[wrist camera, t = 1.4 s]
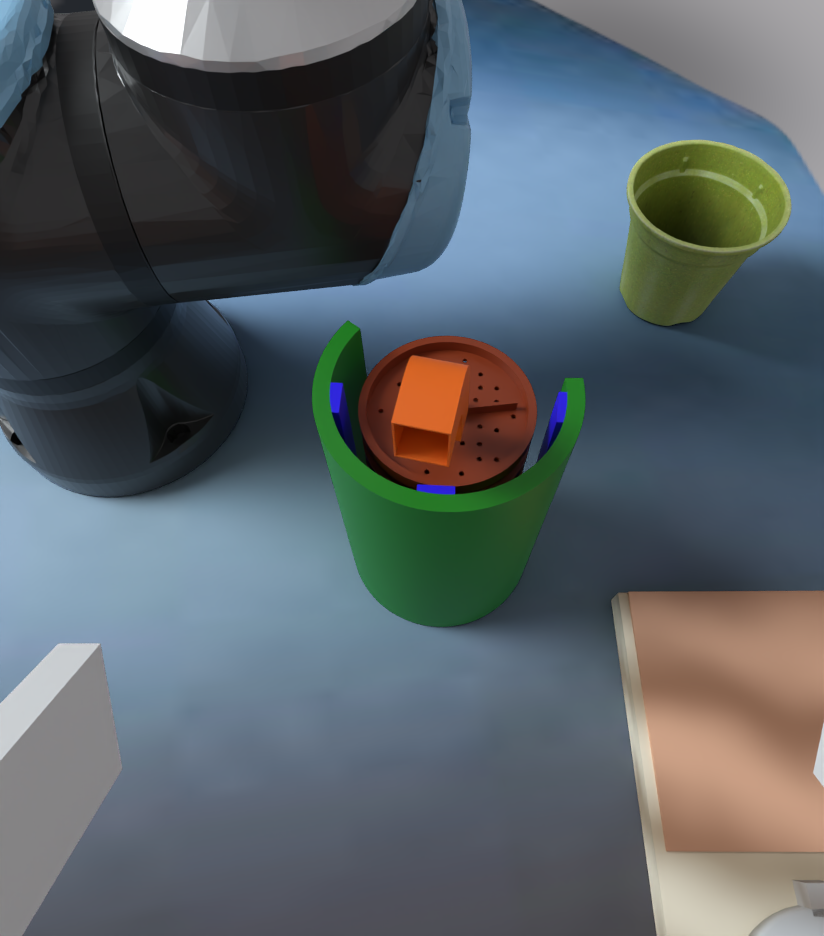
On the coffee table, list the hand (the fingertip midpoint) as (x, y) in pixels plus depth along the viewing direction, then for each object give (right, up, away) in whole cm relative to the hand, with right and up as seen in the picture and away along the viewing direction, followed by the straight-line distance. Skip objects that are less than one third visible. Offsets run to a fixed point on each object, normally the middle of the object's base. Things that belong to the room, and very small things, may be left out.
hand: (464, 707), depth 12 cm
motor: (+1, 0, +26) cm, 26 cm away
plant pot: (+17, +17, +35) cm, 42 cm away
